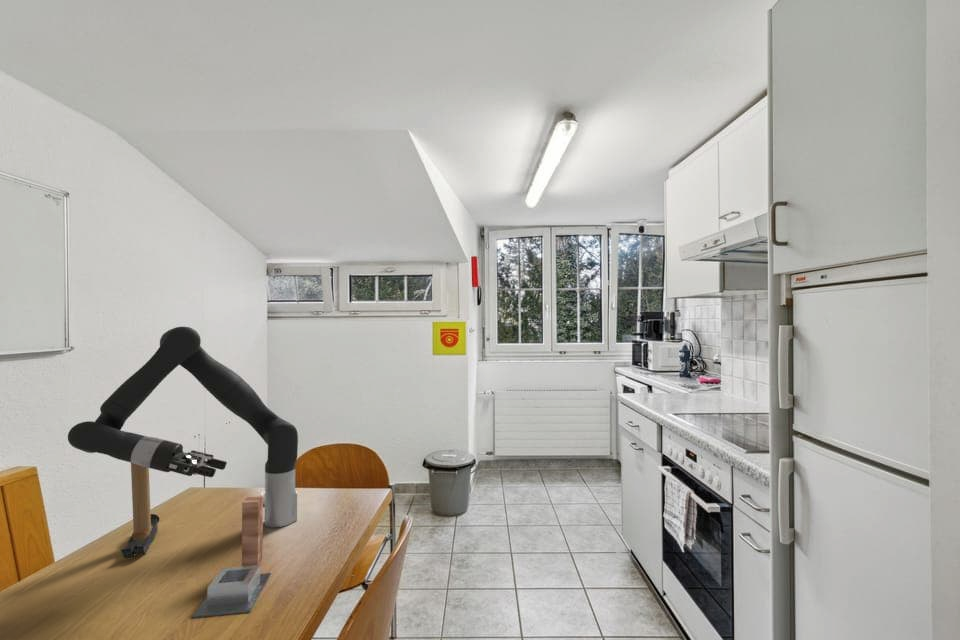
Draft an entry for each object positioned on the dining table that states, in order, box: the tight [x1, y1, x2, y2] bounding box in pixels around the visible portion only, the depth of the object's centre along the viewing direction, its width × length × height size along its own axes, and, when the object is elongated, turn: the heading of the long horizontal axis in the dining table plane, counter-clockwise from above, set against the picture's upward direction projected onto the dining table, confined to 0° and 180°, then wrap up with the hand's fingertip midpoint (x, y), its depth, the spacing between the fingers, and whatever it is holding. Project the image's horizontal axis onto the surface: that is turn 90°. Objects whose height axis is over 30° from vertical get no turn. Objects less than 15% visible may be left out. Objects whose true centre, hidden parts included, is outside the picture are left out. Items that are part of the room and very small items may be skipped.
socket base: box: [192, 565, 272, 619], centre depth 110 cm, size 16×12×5 cm
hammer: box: [120, 462, 160, 558], centre depth 133 cm, size 20×5×30 cm, turn 24°
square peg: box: [241, 495, 264, 567], centre depth 123 cm, size 4×4×18 cm
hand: (220, 469), depth 124 cm, fingers open, 8 cm apart
